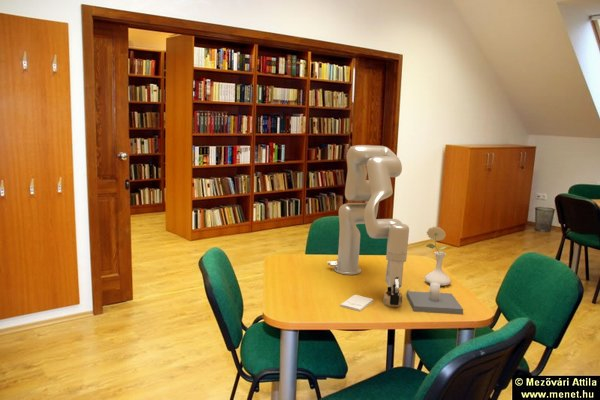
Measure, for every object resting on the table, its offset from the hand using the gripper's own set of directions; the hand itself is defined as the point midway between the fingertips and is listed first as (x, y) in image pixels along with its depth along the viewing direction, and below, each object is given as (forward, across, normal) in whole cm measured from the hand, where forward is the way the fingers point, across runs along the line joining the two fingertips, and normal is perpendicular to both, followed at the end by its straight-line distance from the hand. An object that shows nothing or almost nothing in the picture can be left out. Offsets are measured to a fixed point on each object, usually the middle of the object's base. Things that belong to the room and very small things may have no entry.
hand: (392, 300), depth 188 cm
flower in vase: (+2, -28, +23) cm, 36 cm away
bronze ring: (+1, 0, 0) cm, 1 cm away
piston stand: (+1, -2, +16) cm, 16 cm away
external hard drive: (+2, +2, -14) cm, 14 cm away
